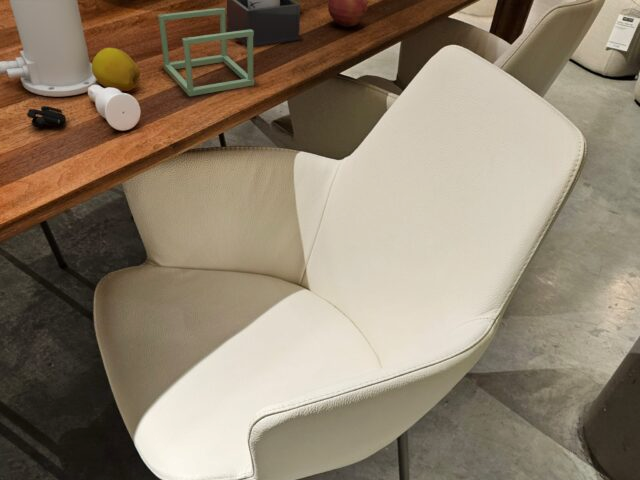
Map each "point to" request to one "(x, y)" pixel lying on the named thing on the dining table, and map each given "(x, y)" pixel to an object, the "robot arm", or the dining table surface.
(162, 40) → the rack
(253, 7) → the travel mug
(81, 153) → the dining table surface
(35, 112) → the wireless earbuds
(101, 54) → the lemon
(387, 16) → the dining table surface
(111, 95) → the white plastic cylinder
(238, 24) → the dark grey storage box
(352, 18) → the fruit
